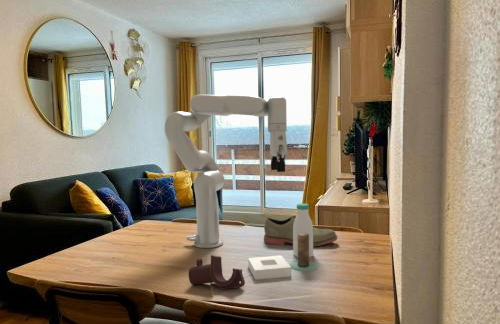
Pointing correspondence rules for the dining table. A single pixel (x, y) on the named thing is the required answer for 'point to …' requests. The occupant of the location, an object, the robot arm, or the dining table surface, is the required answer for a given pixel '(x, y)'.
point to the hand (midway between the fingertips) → (277, 170)
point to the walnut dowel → (303, 250)
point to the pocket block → (269, 267)
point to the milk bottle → (302, 228)
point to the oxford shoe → (283, 232)
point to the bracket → (214, 274)
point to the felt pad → (311, 267)
